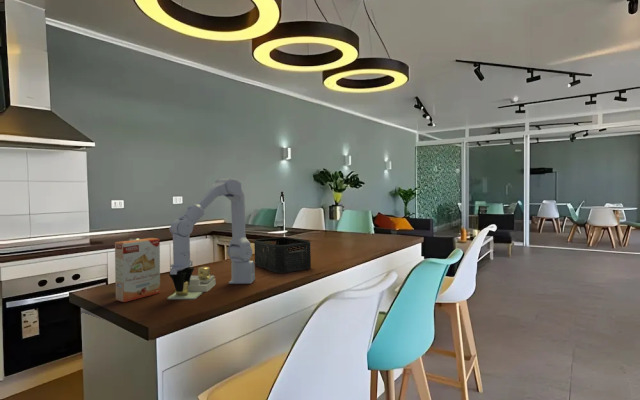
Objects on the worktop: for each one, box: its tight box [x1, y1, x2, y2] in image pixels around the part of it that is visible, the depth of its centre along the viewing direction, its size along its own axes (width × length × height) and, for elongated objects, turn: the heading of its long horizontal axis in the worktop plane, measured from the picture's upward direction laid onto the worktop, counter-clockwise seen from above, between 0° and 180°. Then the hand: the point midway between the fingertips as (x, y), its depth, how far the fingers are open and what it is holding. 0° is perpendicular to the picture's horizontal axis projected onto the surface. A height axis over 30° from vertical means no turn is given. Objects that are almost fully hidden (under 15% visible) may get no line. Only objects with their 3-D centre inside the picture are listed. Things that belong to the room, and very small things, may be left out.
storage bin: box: [253, 236, 312, 274], centre depth 177 cm, size 29×19×13 cm
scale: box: [188, 278, 217, 293], centre depth 139 cm, size 12×10×5 cm
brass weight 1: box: [175, 281, 189, 295], centre depth 128 cm, size 4×4×4 cm
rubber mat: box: [166, 291, 203, 300], centre depth 129 cm, size 10×7×1 cm
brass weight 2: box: [197, 266, 211, 279], centre depth 140 cm, size 4×4×4 cm
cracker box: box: [114, 237, 161, 303], centre depth 128 cm, size 14×6×21 cm, turn 148°
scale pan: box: [190, 275, 216, 282], centre depth 140 cm, size 12×8×1 cm, turn 88°
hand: (182, 289), depth 128 cm, fingers closed on brass weight 1, 4 cm apart
